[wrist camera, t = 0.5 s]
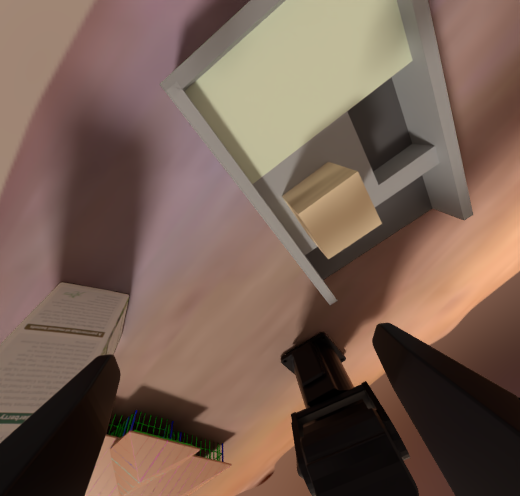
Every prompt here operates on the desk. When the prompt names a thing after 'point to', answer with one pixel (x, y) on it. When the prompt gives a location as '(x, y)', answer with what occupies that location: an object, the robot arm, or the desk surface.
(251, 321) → the desk surface
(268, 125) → the tray
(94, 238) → the desk surface
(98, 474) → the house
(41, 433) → the robot arm
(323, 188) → the wooden cube
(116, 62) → the desk surface
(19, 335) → the syrup box
